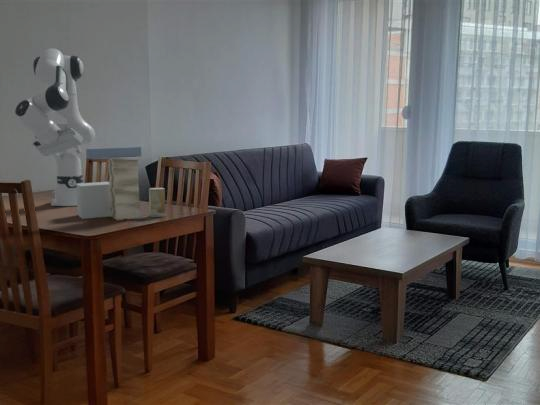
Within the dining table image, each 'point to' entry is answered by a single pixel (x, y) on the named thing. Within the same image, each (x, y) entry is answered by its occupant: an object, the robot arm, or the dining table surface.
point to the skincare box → (156, 202)
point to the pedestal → (124, 188)
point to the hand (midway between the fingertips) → (72, 154)
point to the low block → (93, 200)
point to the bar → (113, 152)
